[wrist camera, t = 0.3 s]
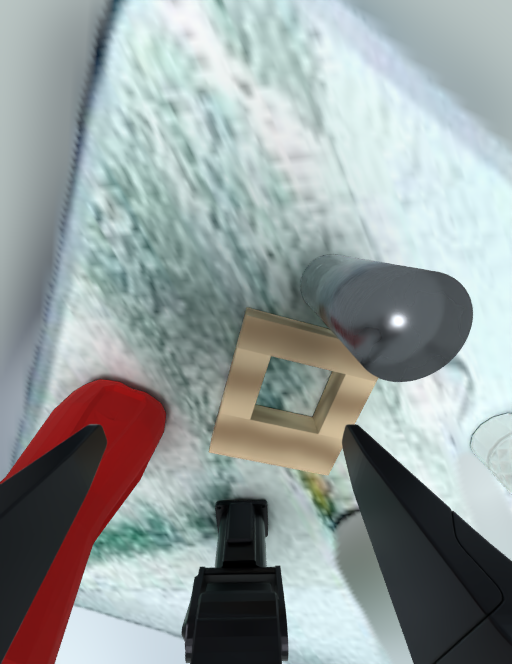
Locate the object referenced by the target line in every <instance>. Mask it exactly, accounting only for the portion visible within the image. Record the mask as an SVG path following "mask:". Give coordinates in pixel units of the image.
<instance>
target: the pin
mask: <svg viewBox="0 0 512 664" xmlns="http://www.w3.org/2000/svg"><path fill="white" fill-rule="evenodd" d="M301 293H302V296H303V298H304V300H305V301H306V302H307V304H308V305H309V306H310V307H311V308H312V309H313V310H314V312H315V313H316V314H317V315H318V316H319V317H320V318H321V320H322V321H323V322H324V323H325V324H326V325H327V326H328V327H329V329H330V330H331V331H332V332H333V333H334V334H335V335H336V337H337V338H338V339H339V340H340V341H341V342H342V343H343V344H344V346H345V347H346V348H347V349H348V350H349V351H350V352H351V354H352V355H353V356H354V357H355V358H356V359H357V360H358V361H359V363H360V364H361V365H362V366H363V367H364V368H365V369H366V370H367V371H368V372H369V373H371V374H372V375H374V376H376V377H378V378H380V379H383V380H387V381H393V382H407V381H413V380H417V379H420V378H423V377H426V376H428V375H430V374H432V373H434V372H436V371H438V370H439V369H441V368H442V367H444V366H445V365H446V364H447V363H449V362H450V361H451V360H452V359H453V358H454V357H455V356H456V354H457V353H458V352H459V351H460V349H461V348H462V346H463V345H464V343H465V341H466V339H467V337H468V335H469V332H470V330H471V325H472V320H473V307H472V303H471V299H470V297H469V294H468V293H467V291H466V289H465V288H464V287H463V286H462V284H461V283H460V282H458V281H457V280H456V279H454V278H453V277H451V276H449V275H447V274H444V273H441V272H436V271H430V270H424V269H418V268H412V267H406V266H400V265H395V264H389V263H383V262H377V261H371V260H365V259H359V258H353V257H347V256H342V255H336V254H328V255H323V256H321V257H319V258H317V259H315V260H314V261H312V262H311V263H310V264H309V265H308V266H307V268H306V269H305V271H304V273H303V275H302V279H301Z"/></svg>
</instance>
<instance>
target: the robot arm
mask: <svg viewBox="0 0 512 664" xmlns="http://www.w3.org/2000/svg"><path fill="white" fill-rule="evenodd" d="M106 446H107V438H106V435H105V432H104V430H103V427H102V426H101V425H100V424H89V425H87V426H85V427H84V428H82V429H81V430H79V431H78V432H76V433H75V434H74V435H72V436H71V437H69V438H68V439H66V440H65V441H63V442H62V443H60V444H59V445H57V446H56V447H54V448H53V449H51V450H50V451H48V452H47V453H46V454H44V455H43V456H41V457H40V458H38V459H37V460H35V461H34V462H32V463H31V464H29V465H28V466H26V467H25V468H23V469H22V470H20V471H19V472H18V473H16V474H15V475H13V476H12V477H10V478H9V479H7V480H6V481H4V482H3V483H1V484H0V664H1V663H2V661H3V659H4V657H5V655H6V653H7V651H8V649H9V647H10V645H11V643H12V641H13V639H14V637H15V635H16V634H17V632H18V630H19V628H20V626H21V624H22V622H23V620H24V618H25V616H26V614H27V612H28V610H29V608H30V606H31V604H32V602H33V600H34V598H35V596H36V594H37V592H38V590H39V588H40V586H41V584H42V582H43V580H44V578H45V576H46V574H47V572H48V570H49V568H50V566H51V564H52V562H53V560H54V559H55V557H56V555H57V553H58V551H59V549H60V547H61V545H62V543H63V541H64V539H65V537H66V535H67V533H68V531H69V529H70V527H71V525H72V523H73V521H74V519H75V517H76V515H77V513H78V511H79V509H80V507H81V505H82V503H83V501H84V499H85V497H86V495H87V493H88V491H89V489H90V487H91V484H92V482H93V479H94V477H95V474H96V472H97V469H98V467H99V464H100V462H101V459H102V456H103V454H104V451H105V449H106ZM342 447H343V451H344V455H345V460H346V464H347V468H348V472H349V476H350V480H351V484H352V488H353V491H354V494H355V497H356V500H357V503H358V506H359V509H360V512H361V515H362V517H363V520H364V523H365V526H366V529H367V532H368V534H369V537H370V540H371V542H372V546H373V549H374V552H375V554H376V557H377V560H378V563H379V566H380V569H381V572H382V574H383V577H384V580H385V583H386V586H387V589H388V592H389V594H390V597H391V600H392V603H393V606H394V609H395V612H396V614H397V617H398V620H399V623H400V626H401V628H402V632H403V634H404V637H405V640H406V643H407V646H408V649H409V651H410V654H411V657H412V660H413V663H414V664H512V561H511V560H510V559H508V558H507V557H506V556H505V555H504V554H502V553H501V552H500V551H499V550H498V549H496V548H495V547H494V546H493V545H492V544H490V543H489V542H488V541H487V540H486V539H484V538H483V537H482V536H481V535H480V534H479V533H478V532H477V531H475V530H474V529H473V528H472V527H471V526H470V525H469V524H467V523H466V522H465V521H464V520H463V519H462V518H461V517H460V516H458V515H457V514H456V513H455V512H454V511H451V509H450V508H449V507H448V506H447V505H446V504H445V503H444V502H443V501H442V500H441V499H440V498H438V497H437V496H436V495H435V494H434V493H433V492H432V491H431V490H430V489H428V488H427V487H426V486H425V485H424V484H423V483H422V482H421V481H420V480H418V479H417V478H416V477H415V476H414V475H413V474H412V473H411V472H410V471H408V470H407V469H406V468H405V467H404V466H403V465H402V464H401V463H400V462H399V461H397V460H396V459H395V458H394V457H393V456H392V455H391V454H390V453H389V452H387V451H386V450H385V449H384V448H383V447H382V446H381V445H380V444H379V443H377V442H376V441H375V440H374V439H373V438H372V437H371V436H370V435H369V434H367V433H366V432H365V431H364V430H363V429H362V428H361V427H360V426H358V425H356V424H348V425H346V426H345V429H344V433H343V437H342ZM215 511H216V519H217V527H218V543H217V552H216V561H215V568H205V567H200V569H199V574H198V576H196V577H195V579H194V585H193V591H192V596H191V600H190V604H189V607H188V610H187V613H186V617H185V620H184V623H183V627H182V637H183V639H184V641H185V650H186V652H185V660H186V663H190V664H282V661H288V632H287V619H286V609H285V601H284V593H283V585H282V577H281V569H280V566H275V567H267V565H266V543H265V537H267V536H268V515H267V502H266V501H265V500H258V501H230V502H217V503H216V505H215Z"/></svg>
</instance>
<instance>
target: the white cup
mask: <svg viewBox="0 0 512 664" xmlns="http://www.w3.org/2000/svg"><path fill="white" fill-rule="evenodd" d="M470 446H471V448H472V450H473V453H474V455H475V456H476V457H477V458H478V459H479V460H480V461H481V462H482V463H483V464H484V465H485V466H486V467H487V468H488V469H489V470H490V471H491V472H492V474H493V475H494V476H495V477H496V479H497V480H498V481H499V482H500V483H501V484H502V485H503V486H504V487H505V488H506V489H507V490H508V491H509V493H510V494H511V495H512V414H510V413H507V414H503V415H499V416H496V417H493V418H491V419H490V420H488V421H486V422H485V423H483V424H482V425H481V426H480V427H479V428H478V429H477V430H476V432H475V433H474V434H473V436H472V440H471V445H470Z"/></svg>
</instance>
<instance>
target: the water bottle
mask: <svg viewBox="0 0 512 664" xmlns="http://www.w3.org/2000/svg"><path fill="white" fill-rule="evenodd" d="M165 419H166V412H165V410H164V408H163V406H162V404H161V403H160V402H159V401H157V400H156V399H155V398H153V397H152V396H150V395H149V394H148V393H146V392H143V391H139V390H135V389H131V388H130V387H128V386H126V385H125V384H123V383H121V382H117V381H110V380H103V379H99V380H96V381H93V382H90V383H88V384H85V385H83V386H82V387H80V388H78V389H77V390H75V391H74V392H72V393H71V394H70V395H69V396H68V397H67V398H66V399H65V400H64V401H63V402H62V403H61V404H60V405H58V406H57V407H56V408H55V409H54V410H53V411H52V413H51V414H50V416H49V417H48V418H47V420H46V421H45V423H44V424H43V425H42V427H41V428H40V430H39V431H38V432H37V434H36V435H35V437H34V438H33V439H32V441H31V442H30V444H29V445H28V446H27V448H26V449H25V451H24V452H23V453H22V455H21V456H20V458H19V459H18V460H17V462H16V463H15V465H14V466H13V467H12V469H11V470H10V472H9V473H8V475H7V476H6V477H5V478H4V479H3V480H2V481H1V482H0V484H1V483H3V482H4V481H6V480H7V479H9V478H10V477H12V476H13V475H15V474H16V473H18V472H19V471H20V470H22V469H23V468H25V467H26V466H28V465H29V464H31V463H32V462H34V461H35V460H37V459H38V458H40V457H41V456H43V455H44V454H46V453H47V452H48V451H50V450H51V449H53V448H54V447H56V446H57V445H59V444H60V443H62V442H63V441H65V440H66V439H68V438H69V437H71V436H72V435H74V434H75V433H76V432H78V431H79V430H81V429H82V428H84V427H85V426H87V425H89V424H100V425H101V426H102V427H103V430H104V432H105V435H106V438H107V446H106V449H105V451H104V454H103V456H102V459H101V462H100V464H99V467H98V469H97V472H96V474H95V477H94V479H93V482H92V484H91V487H90V489H89V491H88V493H87V495H86V497H85V499H84V501H83V503H82V505H81V507H80V509H79V511H78V513H77V515H76V517H75V519H74V521H73V523H72V525H71V527H70V529H69V531H68V533H67V535H66V537H65V539H64V541H63V543H62V545H61V547H60V549H59V551H58V553H57V555H56V557H55V559H54V560H53V562H52V564H51V566H50V568H49V570H48V572H47V574H46V576H45V578H44V580H43V582H42V584H41V586H40V588H39V590H38V592H37V594H36V596H35V598H34V600H33V602H32V604H31V606H30V608H29V610H28V612H27V614H26V616H25V618H24V620H23V622H22V624H21V626H20V628H19V630H18V632H17V634H16V635H15V637H14V639H13V641H12V643H11V645H10V647H9V649H8V651H7V653H6V655H5V657H4V659H3V661H2V663H1V664H55V660H56V657H57V654H58V651H59V648H60V645H61V642H62V639H63V636H64V632H65V629H66V626H67V623H68V619H69V617H70V614H71V610H72V608H73V604H74V601H75V598H76V595H77V592H78V589H79V586H80V583H81V579H82V576H83V573H84V570H85V567H86V564H87V561H88V558H89V555H90V552H91V549H92V546H93V544H94V542H95V540H96V539H97V538H98V536H99V535H100V534H101V532H102V531H103V529H104V528H105V527H106V525H107V524H108V523H109V521H110V520H111V519H112V517H113V516H114V515H115V513H116V512H117V511H118V509H119V508H120V507H121V505H122V504H123V502H124V501H125V500H126V498H127V497H128V496H129V494H130V493H131V492H132V490H133V489H134V488H135V486H136V485H137V484H138V482H139V481H140V479H141V477H142V475H143V473H144V471H145V469H146V467H147V465H148V462H149V460H150V458H151V456H152V454H153V453H154V451H155V449H156V447H157V445H158V443H159V440H160V438H161V436H162V434H163V433H164V428H165Z"/></svg>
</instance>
